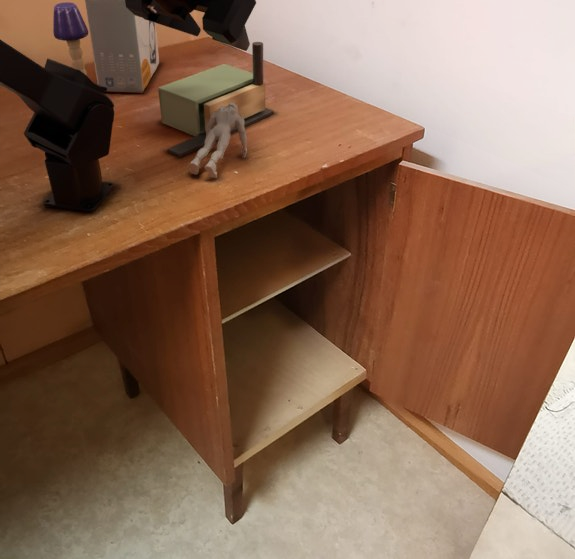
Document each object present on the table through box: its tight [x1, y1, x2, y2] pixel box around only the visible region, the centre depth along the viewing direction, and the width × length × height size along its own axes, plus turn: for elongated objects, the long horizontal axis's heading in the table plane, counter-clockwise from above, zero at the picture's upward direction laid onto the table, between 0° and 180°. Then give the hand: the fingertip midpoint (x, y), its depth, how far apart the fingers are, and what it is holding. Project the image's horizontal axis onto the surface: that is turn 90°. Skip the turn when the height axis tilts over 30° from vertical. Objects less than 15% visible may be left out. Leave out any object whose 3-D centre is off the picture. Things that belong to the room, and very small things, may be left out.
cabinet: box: [157, 63, 275, 158], centre depth 91 cm, size 20×10×6 cm, turn 141°
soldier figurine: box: [188, 103, 248, 179], centre depth 82 cm, size 6×5×12 cm
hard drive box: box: [84, 0, 160, 94], centre depth 101 cm, size 16×8×20 cm, turn 179°
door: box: [204, 41, 266, 131], centre depth 89 cm, size 12×2×10 cm, turn 141°
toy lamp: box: [52, 2, 89, 77], centre depth 87 cm, size 5×5×17 cm
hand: (222, 40), depth 83 cm, fingers open, 9 cm apart
